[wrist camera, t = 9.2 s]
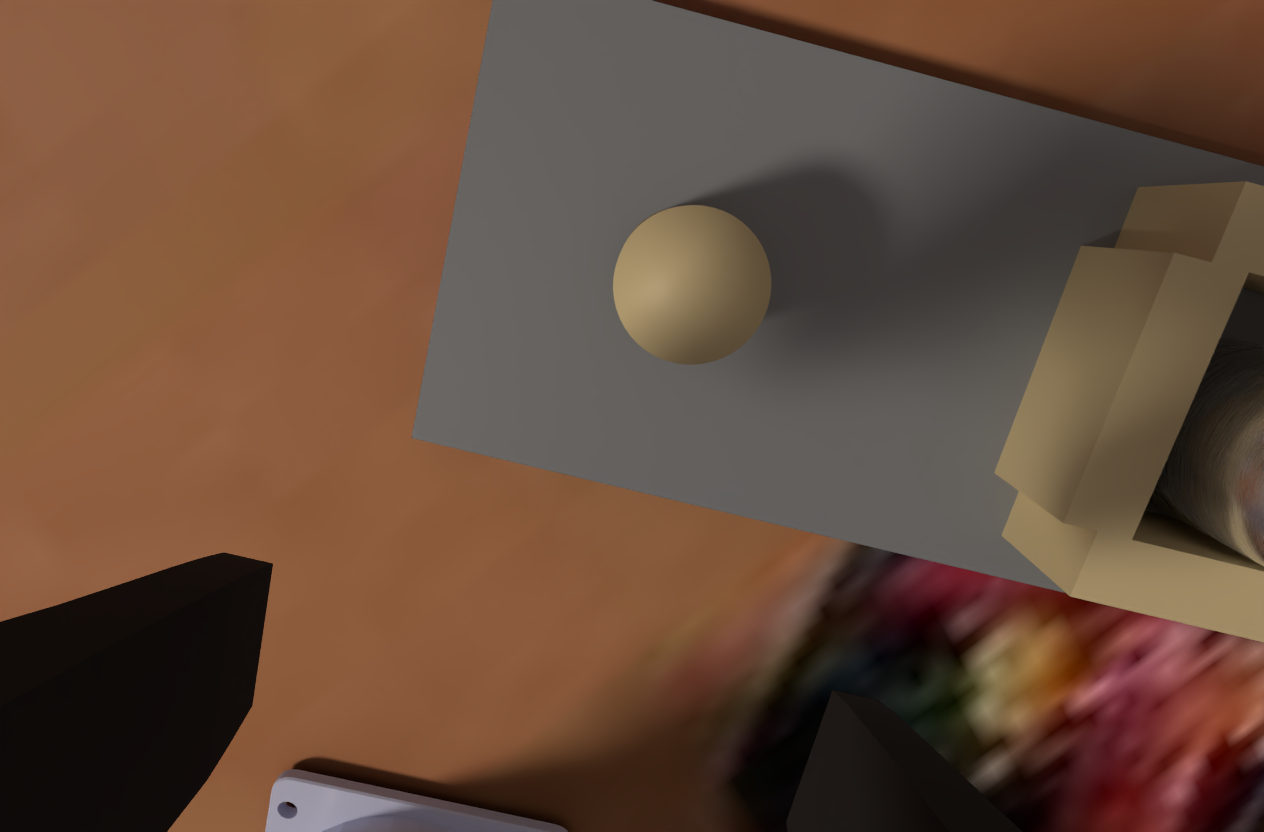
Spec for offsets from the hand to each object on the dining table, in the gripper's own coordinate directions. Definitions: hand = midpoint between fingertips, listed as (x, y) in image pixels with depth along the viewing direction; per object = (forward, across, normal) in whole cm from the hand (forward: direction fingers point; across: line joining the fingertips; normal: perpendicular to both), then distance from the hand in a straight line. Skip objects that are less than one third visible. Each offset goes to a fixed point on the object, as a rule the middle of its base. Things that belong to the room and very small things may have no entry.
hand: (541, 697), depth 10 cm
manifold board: (+9, -8, -5) cm, 13 cm away
